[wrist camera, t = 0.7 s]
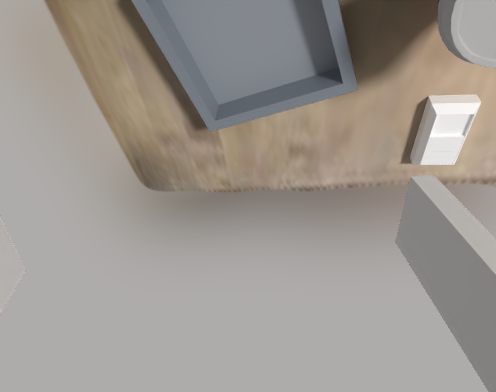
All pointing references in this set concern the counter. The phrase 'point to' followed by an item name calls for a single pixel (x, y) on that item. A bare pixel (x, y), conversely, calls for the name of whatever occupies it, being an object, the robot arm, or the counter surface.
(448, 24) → the disposable coffee cup
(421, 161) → the white light switch
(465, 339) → the robot arm
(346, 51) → the square open box
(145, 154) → the counter surface
